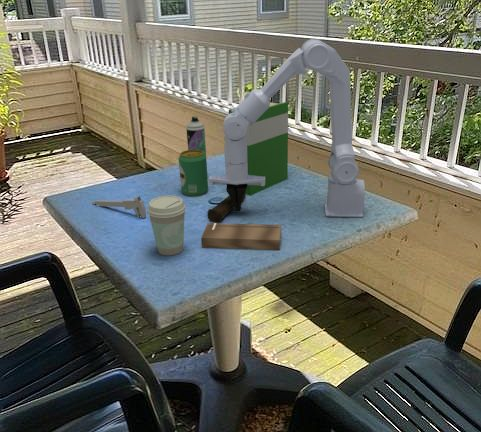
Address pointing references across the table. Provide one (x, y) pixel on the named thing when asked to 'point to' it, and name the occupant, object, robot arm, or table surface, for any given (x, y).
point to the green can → (193, 172)
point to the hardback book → (268, 147)
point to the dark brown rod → (221, 210)
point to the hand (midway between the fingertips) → (238, 210)
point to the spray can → (196, 135)
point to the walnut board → (241, 236)
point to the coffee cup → (168, 223)
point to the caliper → (126, 205)
